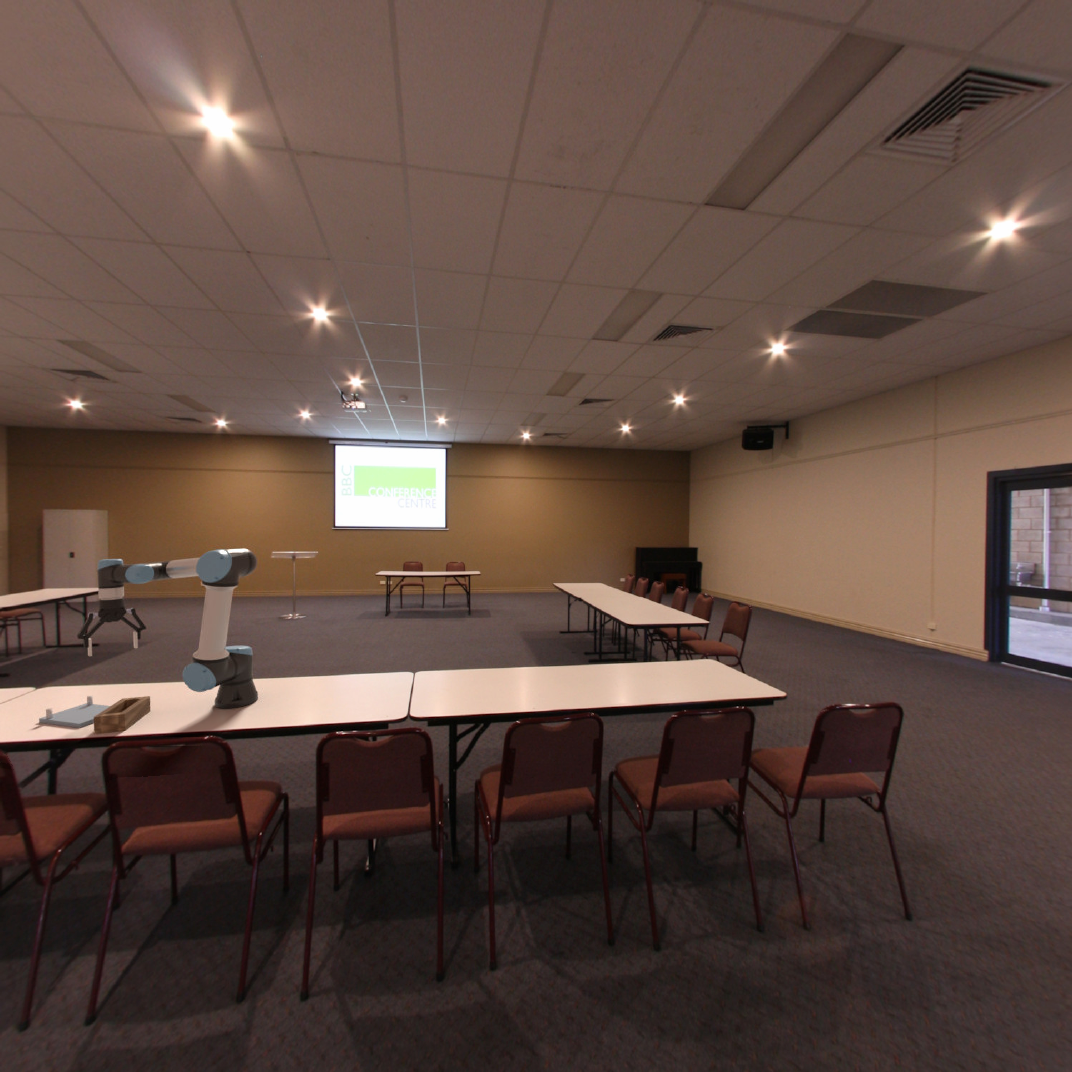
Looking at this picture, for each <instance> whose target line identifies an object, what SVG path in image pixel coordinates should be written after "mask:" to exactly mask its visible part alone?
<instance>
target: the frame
mask: <svg viewBox="0 0 1072 1072" xmlns="http://www.w3.org/2000/svg"><path fill="white" fill-rule="evenodd" d="M109 706H110V707H109V708H107V709H105V710H104V711H102V712H101V713H99V714H98V715H96V716H95V717H94V723H93V734H94V735H98V734H99V735H100V734H107V733H115V732H116V733H117V732H118V733H119V732H124V731H125V732H126V731H127V730H129V728H130V727H132V726H133V725H135V724H136V723H137V722H139V721H140V720H141V719H142V718H143V717H145V716H146V715H147V714H149V713H150V712H151V696H148V695H144V696H136V697H125V698H120V700H118V701H116V702H114V703H113V704H111V705H109Z"/></svg>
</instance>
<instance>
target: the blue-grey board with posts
mask: <svg viewBox="0 0 1072 1072" xmlns="http://www.w3.org/2000/svg"><path fill="white" fill-rule="evenodd" d="M93 701H94V700H93V695H88V696H86V702H87V703H83V704H79V705H77V706H73V707H71V708H67V709H64V710H62V711H58V712H55V713H53V708H52V707H51V708H46V709H45V712H46V713H45V716H42V717H40V718H38V722H39V723H40V724H49V725H56V726H62V727H69V728H78V729H79V728H80V729H81V728H83V727H86V726H89V725H91V724H94V717H95V716H96V715H98V714H99V713H101V712H102V711H104V710H105V709H107V708H109V707H110V706H111V705H105V704H96V703H95V704H94V703H93Z"/></svg>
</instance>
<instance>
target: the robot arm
mask: <svg viewBox="0 0 1072 1072" xmlns="http://www.w3.org/2000/svg"><path fill="white" fill-rule="evenodd" d="M257 566H258V557H257V556H256V554H255V553H254V552H253V551H252V550H250V549H247V548H242V547H238V548H222V549H221V548H217V549H214V550H209V551H206V552H205V553H203V554H202V555H201V556H200V557H194V558H193V557H191V558H183V559H174V560H165V561H155V562H143V563H134V564H133V563H131V564H127V563H126V564H124V560H123V559H122V558H107V559H106V558H105V559H100V560H98V561H97V568H96V569H97V570H96V572H97V586H98V591H97V592H98V599H99V600H98V612H88V613H87V619H86V620H85V622H84V623H83V625H82V627H81V628H80V630H79V632H78V634H77V635H76V638H77V639H79V640H83V647H84V648H85V649H86V648H87V656H88V657H93V645H92V644H93V643H92V642H93V641H92V640H93V639H92V638H91V637H92V636H93V635H94V634H95V632H96V631H97V630H99V629H100V627H101V626H102V625H103V624H105V623H109V624H110V623H112V622H116V623H117V622H119V621H121V622H122V621H123V622H124V623H125V624H126V625H128V626H129V627H130V628H132V629H133V630H134V631H132V634H133V637H132V640H133V648H134V649H138V648H139V644H138V641H140V640H141V639H142V638H141V636H142V633H141V632H142V631H145V630H146V629H147V627H146V625H145V624H144V622H143V621H142V620H141V619H140V617H139V616H138V614H137V612H136V608H134V607H130V608H127V609H126V607H125V603H126V602H125V598H124V596H125V584H134V585H140V584H141V585H142V584H146V583H149V582H155V581H163V580H174V579H182V578H190V577H191V578H193V577H198V578H199V579H200V580H201V581H202V582H201V585H202V586H203V587H205V596H204V604H203V610H202V611H203V612H202V618H201V627H200V633H199V643H198V649H197V650H196V651H194V652H193V654H192V659H191V662H190V663H188V664H187V665H186V666H184V668H183V671H182V680H183V682H184V684H185V685H186V686H187V688H188V689H189V690H190V691H193V692H197V693H203V692H207V691H210V690H213V689H214V688H216V687H218V689H217V693H216V697H215V699H214V707H215V708H216V709H236V708H241V707H244V706H248V705H251V704H253V703H255V702H256V701H258V699H259V692H258V690H257V688H256V685H255V683H254V679H253V676H254V675H253V672H254V670H253V669H254V668H253V667H254V665H253V663H254V662H253V659H254V658H253V657H254V655H253V648H252V647H251V646H248V645H230V646H227V641H228V633H229V626H230V625H229V624H230V617H231V610H232V609H231V608H232V601H233V593H234V590H235V589H236V588H237V587H238V586H239V582H240V578H244V577H247V576H251V574H252V573H254V572H255V570H256V569H257ZM127 613H128V614H129V615H131V616H132V618H133V619H134V621H136V623H137V624H138V626H139V627H138V626H137V625H135V624H134V623H133V622H132V621H130V620H128V619H127V618H126V617H124V616H125V615H126V614H127ZM96 617H98V618H99V620H98V621H97V622H96V623H95V624H94V625H93V626H92V627H91V628H90V629H89V627H90V626H91V623H92V622H93V619H95V618H96ZM88 629H89V630H88ZM87 630H88V631H87ZM86 632H87V633H86Z"/></svg>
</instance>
